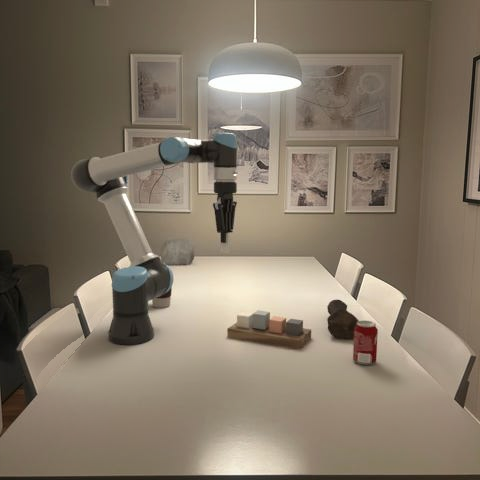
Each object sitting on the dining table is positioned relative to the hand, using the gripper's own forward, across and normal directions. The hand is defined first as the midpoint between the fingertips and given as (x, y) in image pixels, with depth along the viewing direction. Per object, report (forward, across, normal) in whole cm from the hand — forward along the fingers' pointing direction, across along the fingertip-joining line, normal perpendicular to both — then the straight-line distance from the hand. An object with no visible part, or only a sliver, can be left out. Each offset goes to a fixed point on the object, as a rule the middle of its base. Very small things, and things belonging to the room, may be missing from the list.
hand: (225, 252), depth 164 cm
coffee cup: (+30, +22, +41) cm, 55 cm away
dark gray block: (+27, +6, -23) cm, 36 cm away
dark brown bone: (+30, +27, -32) cm, 52 cm away
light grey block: (+26, +6, -11) cm, 29 cm away
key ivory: (+27, +6, -5) cm, 29 cm away
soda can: (+30, -1, -48) cm, 56 cm away
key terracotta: (+27, +6, -17) cm, 33 cm away
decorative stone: (+30, +102, +85) cm, 136 cm away
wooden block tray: (+29, +6, -14) cm, 33 cm away
